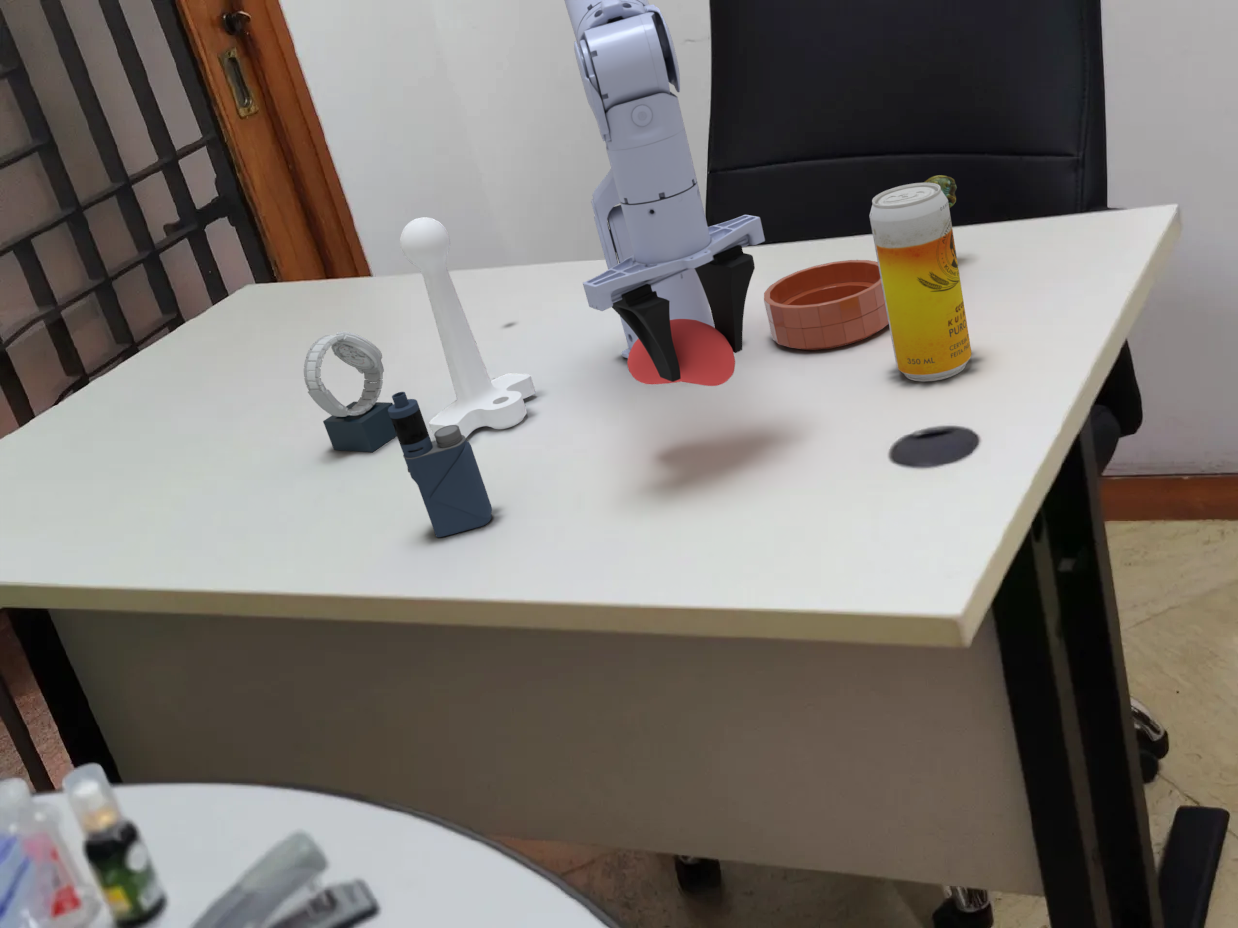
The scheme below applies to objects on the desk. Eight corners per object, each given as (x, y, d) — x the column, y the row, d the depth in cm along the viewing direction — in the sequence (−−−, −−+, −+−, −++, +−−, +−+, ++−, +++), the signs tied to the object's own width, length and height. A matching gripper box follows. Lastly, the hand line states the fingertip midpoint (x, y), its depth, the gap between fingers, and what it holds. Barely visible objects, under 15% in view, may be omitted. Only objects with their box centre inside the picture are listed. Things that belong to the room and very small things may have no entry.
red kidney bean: (696, 369, 105) (640, 319, 104) (759, 342, 98) (700, 287, 96) (666, 417, 103) (608, 367, 101) (728, 393, 96) (667, 338, 94)
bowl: (749, 340, 124) (739, 296, 122) (844, 296, 128) (835, 253, 126) (823, 363, 114) (814, 315, 112) (923, 315, 118) (915, 268, 116)
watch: (415, 422, 127) (379, 319, 123) (359, 460, 121) (319, 354, 117) (376, 420, 130) (339, 320, 126) (320, 458, 125) (279, 354, 120)
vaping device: (432, 526, 104) (384, 393, 99) (495, 509, 104) (449, 375, 99) (430, 541, 102) (381, 405, 97) (494, 523, 102) (448, 386, 97)
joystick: (507, 392, 128) (445, 198, 120) (561, 397, 123) (500, 195, 115) (427, 444, 121) (355, 241, 113) (481, 450, 116) (410, 239, 108)
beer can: (974, 377, 103) (946, 197, 97) (897, 389, 105) (865, 212, 99) (971, 348, 108) (944, 175, 102) (898, 360, 110) (867, 191, 104)
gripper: (598, 231, 87) (647, 412, 92) (771, 161, 92) (808, 337, 97) (552, 221, 92) (601, 391, 98) (718, 156, 98) (755, 321, 103)
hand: (701, 363), depth 98 cm, fingers closed on red kidney bean, 5 cm apart
